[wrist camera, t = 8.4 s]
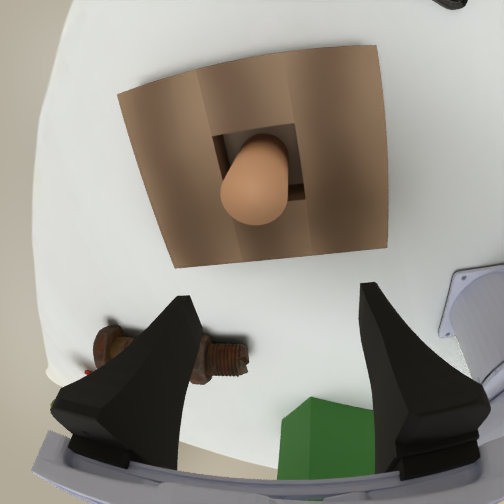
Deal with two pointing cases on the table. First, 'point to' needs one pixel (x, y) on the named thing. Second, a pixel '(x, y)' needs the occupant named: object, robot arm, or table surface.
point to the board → (283, 127)
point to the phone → (451, 3)
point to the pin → (257, 181)
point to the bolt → (206, 365)
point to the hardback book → (326, 442)
